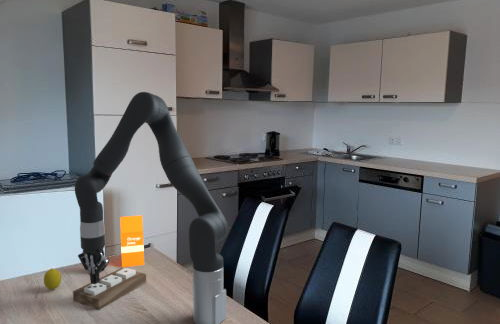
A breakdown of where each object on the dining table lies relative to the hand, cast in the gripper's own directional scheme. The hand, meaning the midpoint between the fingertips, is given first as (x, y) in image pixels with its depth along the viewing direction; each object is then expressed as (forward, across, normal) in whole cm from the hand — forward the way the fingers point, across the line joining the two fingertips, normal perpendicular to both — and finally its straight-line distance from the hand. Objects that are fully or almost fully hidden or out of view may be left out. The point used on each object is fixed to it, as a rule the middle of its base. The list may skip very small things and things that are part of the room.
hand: (94, 282), depth 133 cm
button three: (+4, 0, 0) cm, 4 cm away
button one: (+4, 0, -14) cm, 14 cm away
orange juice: (+6, +12, -30) cm, 33 cm away
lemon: (+6, +19, +2) cm, 20 cm away
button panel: (+6, 0, -7) cm, 9 cm away
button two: (+4, 0, -7) cm, 8 cm away
